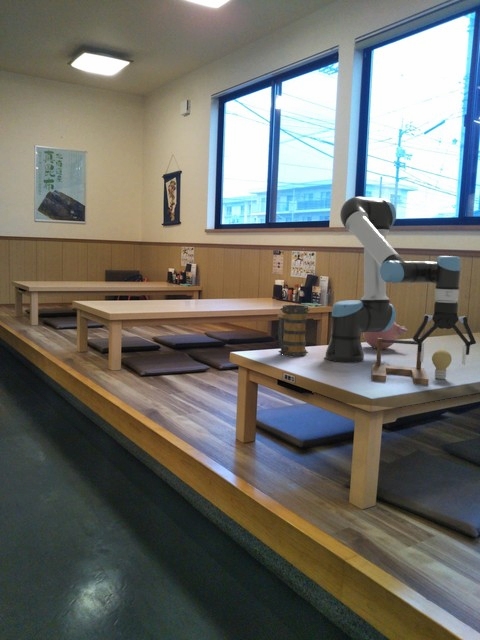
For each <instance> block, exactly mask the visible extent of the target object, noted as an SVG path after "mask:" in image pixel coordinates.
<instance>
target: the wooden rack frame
mask: <svg viewBox="0 0 480 640" xmlns="http://www.w3.org/2000/svg"><path fill="white" fill-rule="evenodd" d="M382 342H385V343H394V344H400V345H402V344H403V345H413V346H414V345H416V346H418V342H416V341H414V340H403V339H397V340H390V339H382V338H378V344H377V348H376V361H375V364H374V363H373V364H372V370H371V371H372V372H371V373H372V375H371V380H372V381H374V382H384V383H386V382H387V374H389V375H398V376H399V375H402V376H411V379H412V382H413V385H421V386H429V381H430V379H429V377H428V374H427V371H426V369H425V367H422V362H421V361H420V357H421V352H418V349H417V351H416V365H415V367H414V366H413V367H412V366H401V365H400V366H399V365H388V364H387V365H386V364H381V363H382V350H383V349H382Z"/></svg>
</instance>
